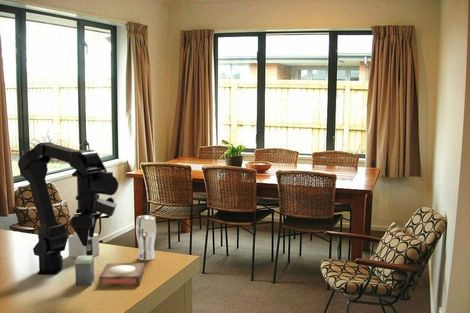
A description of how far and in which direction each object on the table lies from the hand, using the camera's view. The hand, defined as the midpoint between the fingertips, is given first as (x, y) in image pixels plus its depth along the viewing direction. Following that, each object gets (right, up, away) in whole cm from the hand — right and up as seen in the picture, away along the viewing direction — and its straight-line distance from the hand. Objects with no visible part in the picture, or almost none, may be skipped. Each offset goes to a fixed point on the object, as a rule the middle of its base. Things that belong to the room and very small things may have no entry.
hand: (88, 241), depth 153 cm
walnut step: (+10, -13, +4) cm, 16 cm away
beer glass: (+14, -10, +24) cm, 30 cm away
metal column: (-1, -13, +1) cm, 13 cm away
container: (-9, -10, +27) cm, 30 cm away
